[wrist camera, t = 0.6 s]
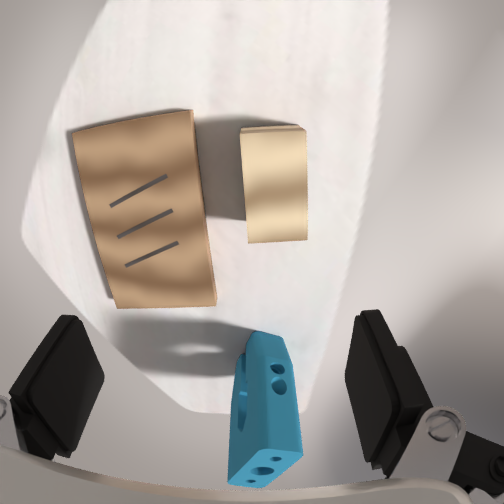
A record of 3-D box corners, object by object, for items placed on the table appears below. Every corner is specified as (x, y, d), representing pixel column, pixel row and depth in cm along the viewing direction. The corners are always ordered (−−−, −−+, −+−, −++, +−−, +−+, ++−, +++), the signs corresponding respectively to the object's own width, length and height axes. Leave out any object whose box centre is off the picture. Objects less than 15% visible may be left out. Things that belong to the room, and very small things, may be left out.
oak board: (79, 130, 32) (71, 133, 31) (192, 109, 32) (189, 110, 30) (121, 300, 44) (117, 308, 42) (217, 297, 43) (215, 306, 41)
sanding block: (241, 127, 33) (239, 134, 28) (297, 124, 33) (306, 130, 28) (248, 220, 38) (248, 243, 33) (299, 217, 38) (307, 240, 33)
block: (260, 379, 51) (262, 488, 34) (231, 372, 51) (225, 483, 33) (290, 329, 46) (306, 452, 28) (258, 320, 45) (261, 447, 28)
